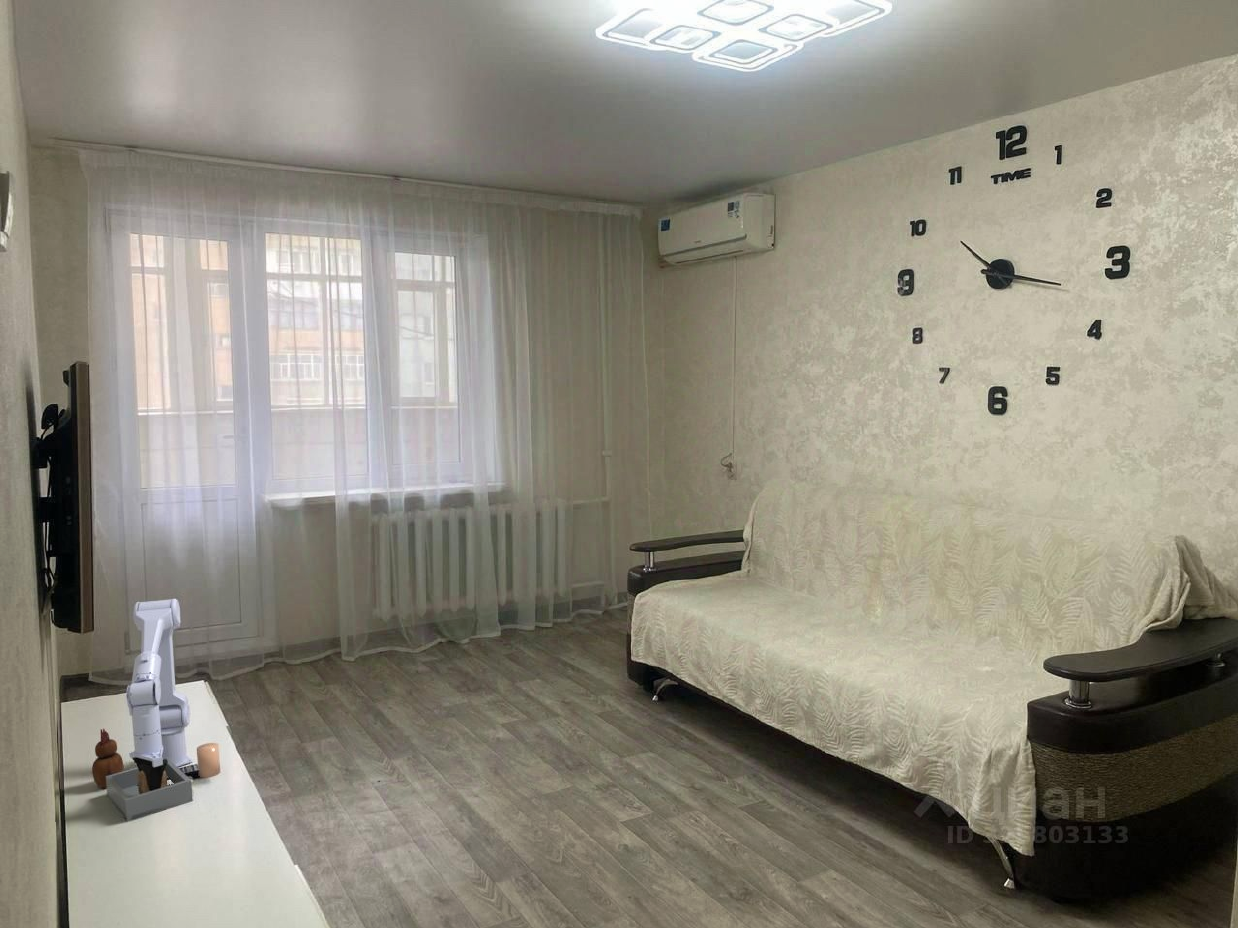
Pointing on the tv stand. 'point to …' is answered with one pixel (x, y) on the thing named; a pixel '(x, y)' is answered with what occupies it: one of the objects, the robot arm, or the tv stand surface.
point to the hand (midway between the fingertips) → (151, 786)
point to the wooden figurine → (106, 760)
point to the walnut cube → (143, 782)
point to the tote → (147, 793)
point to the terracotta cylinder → (208, 760)
